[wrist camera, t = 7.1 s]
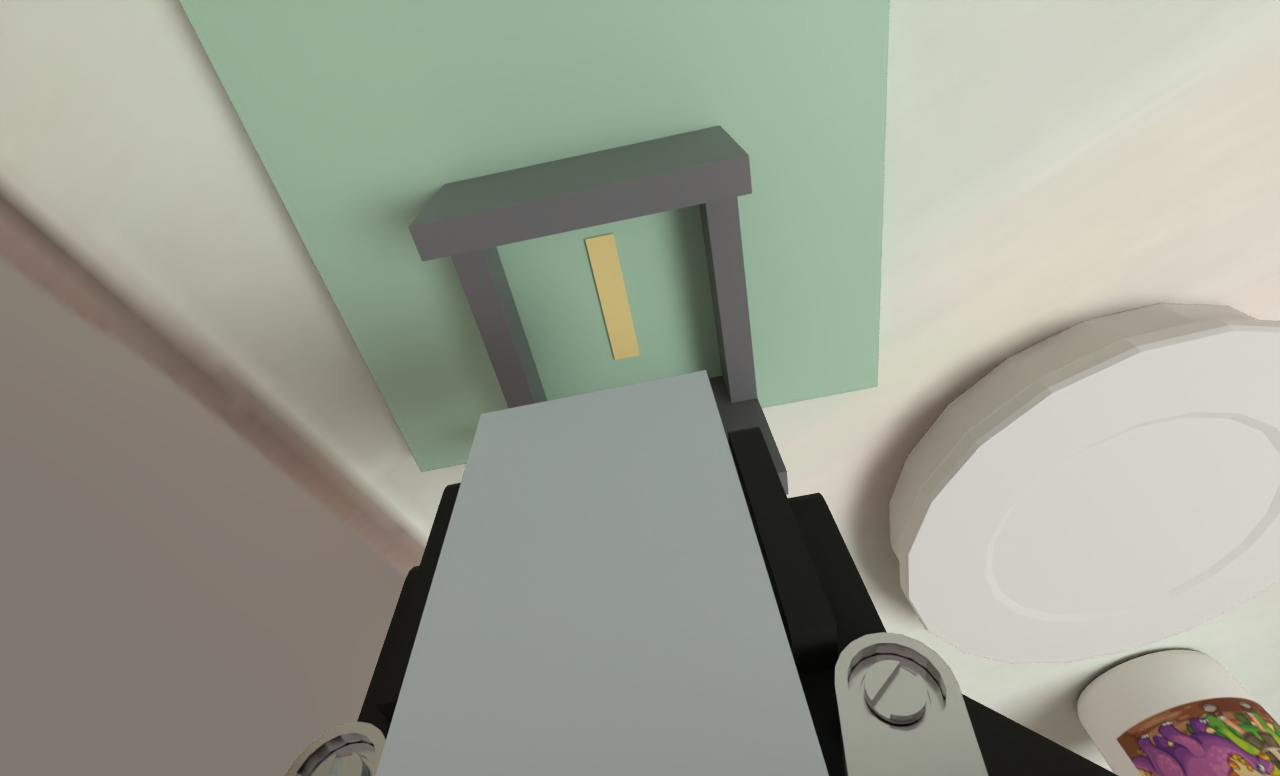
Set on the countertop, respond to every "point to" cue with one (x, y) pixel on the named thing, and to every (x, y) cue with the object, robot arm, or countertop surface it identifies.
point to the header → (603, 250)
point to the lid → (1098, 488)
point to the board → (561, 128)
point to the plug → (602, 605)
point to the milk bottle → (1178, 719)
